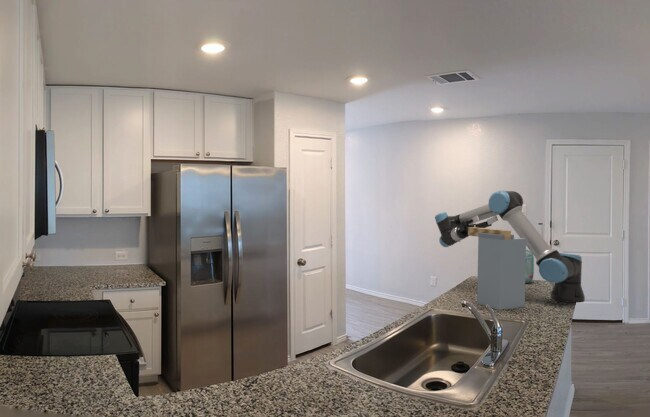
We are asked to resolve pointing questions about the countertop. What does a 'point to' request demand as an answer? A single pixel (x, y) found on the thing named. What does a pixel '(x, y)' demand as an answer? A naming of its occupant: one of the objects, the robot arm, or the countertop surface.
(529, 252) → the lunch box
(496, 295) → the stand
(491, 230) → the oak block
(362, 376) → the countertop surface
